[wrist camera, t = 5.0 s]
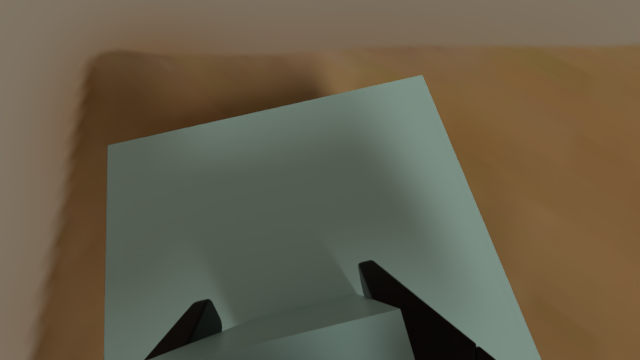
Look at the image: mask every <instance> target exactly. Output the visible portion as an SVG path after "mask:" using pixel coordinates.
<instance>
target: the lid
mask: <svg viewBox="0 0 640 360" xmlns="http://www.w3.org/2000/svg"><path fill="white" fill-rule="evenodd" d="M368 260H373V261H375V262H376V263H377V264H378V265H380V266H381V267H382V268H383V269H385V270H386V271H387V272H388V273H389V274H391V275H392V276H393V277H394V278H396V279H397V280H398V281H399V282H401V283H402V284H403V285H404V286H406V287H407V288H408V289H409V290H410V291H412V292H413V293H414V294H415V295H417V296H418V297H419V298H420V299H422V300H423V301H424V302H425V303H427V304H428V305H429V306H430V307H431V308H433V309H434V310H435V311H436V312H438V313H439V314H440V315H441V316H443V317H444V318H445V319H446V320H448V321H449V322H450V323H451V324H452V325H454V326H455V327H456V328H457V329H459V330H460V331H461V332H462V333H464V334H465V335H466V336H467V337H469V338H470V339H471V340H472V341H473V342H475V343H476V348H477V346H480V347H481V348H482V349H484V350H485V351H486V352H487V353H488V354H490V355H491V356H492V357H493V358H495V359H496V360H541V358H540V356H539V353H538V351H537V349H536V346H535V344H534V341H533V339H532V337H531V334H530V332H529V329H528V327H527V325H526V322H525V320H524V317H523V315H522V313H521V310H520V308H519V305H518V303H517V301H516V298H515V296H514V293H513V291H512V289H511V286H510V284H509V281H508V279H507V277H506V274H505V272H504V269H503V267H502V265H501V262H500V260H499V257H498V255H497V253H496V250H495V248H494V245H493V243H492V241H491V238H490V236H489V234H488V231H487V229H486V226H485V224H484V222H483V219H482V217H481V214H480V212H479V210H478V207H477V205H476V202H475V200H474V198H473V195H472V193H471V190H470V188H469V186H468V183H467V181H466V178H465V176H464V174H463V171H462V169H461V166H460V164H459V162H458V159H457V157H456V154H455V152H454V150H453V147H452V145H451V142H450V140H449V138H448V135H447V133H446V130H445V128H444V126H443V123H442V121H441V119H440V116H439V114H438V111H437V109H436V107H435V104H434V102H433V99H432V97H431V95H430V92H429V90H428V87H427V85H426V83H425V80H424V78H423V75H420V76H416V77H411V78H407V79H402V80H398V81H393V82H389V83H384V84H380V85H375V86H371V87H366V88H362V89H357V90H353V91H348V92H344V93H340V94H335V95H331V96H326V97H322V98H317V99H313V100H308V101H304V102H299V103H295V104H290V105H286V106H281V107H277V108H272V109H268V110H264V111H259V112H255V113H250V114H246V115H241V116H237V117H232V118H228V119H223V120H219V121H214V122H210V123H205V124H201V125H196V126H192V127H187V128H183V129H179V130H174V131H170V132H165V133H161V134H156V135H152V136H147V137H143V138H138V139H134V140H129V141H125V142H120V143H116V144H111V145H108V155H107V212H106V269H105V326H104V360H144V359H145V358H146V357H147V356H148V355H149V353H150V352H151V351H152V350H153V349H154V348H155V346H156V345H157V344H158V343H159V342H160V341H161V340H162V338H163V337H164V336H165V335H166V334H167V333H168V331H169V330H170V329H171V328H172V327H173V326H174V324H175V323H176V322H177V321H178V320H179V319H180V318H181V316H182V315H183V314H184V313H185V312H186V311H187V309H188V308H189V307H190V306H191V305H192V304H193V303H194V302H196V301H200V300H204V299H210V300H211V301H212V302H213V304H214V306H215V308H216V310H217V312H218V315H219V317H220V319H221V322H222V332H219V333H216V334H214V335H211V336H209V337H206V338H204V339H201V340H198V341H196V342H193V343H191V344H188V345H185V346H183V347H180V348H177V349H175V350H172V351H170V352H167V353H165V354H162V355H159V356H157V357H154V358H152V359H149V360H415V358H414V355H413V351H412V348H411V344H410V341H409V338H408V334H407V331H406V327H405V324H404V321H403V317H402V314H401V310H400V309H399V308H396V307H393V306H390V305H387V304H384V303H382V302H379V301H376V300H373V299H369V298H366V297H364V294H363V290H362V286H361V280H360V275H359V269H358V264H359V263H360V262H364V261H368Z"/></svg>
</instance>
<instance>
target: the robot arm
mask: <svg viewBox="0 0 640 360" xmlns="http://www.w3.org/2000/svg"><path fill="white" fill-rule="evenodd" d="M358 269H359V275H360V280H361V286H362V290H363V294H364V297H366V298H369V299H373V300H376V301H379V302H382V303H384V304H387V305H390V306H393V307H396V308H399V309H400V310H401V314H402V317H403V321H404V324H405V327H406V331H407V334H408V338H409V341H410V344H411V348H412V351H413V355H414V358H415V360H496V359H495V358H493V357H492V356H491V355H490V354H488V353H487V352H486V351H485V350H484V349H482V348H481V347H480V346H477V348H476V343H475V342H473V341H472V340H471V339H470V338H469V337H467V336H466V335H465V334H464V333H462V332H461V331H460V330H459V329H457V328H456V327H455V326H454V325H452V324H451V323H450V322H449V321H448V320H446V319H445V318H444V317H443V316H441V315H440V314H439V313H438V312H436V311H435V310H434V309H433V308H431V307H430V306H429V305H428V304H427V303H425V302H424V301H423V300H422V299H420V298H419V297H418V296H417V295H415V294H414V293H413V292H412V291H410V290H409V289H408V288H407V287H406V286H404V285H403V284H402V283H401V282H399V281H398V280H397V279H396V278H394V277H393V276H392V275H391V274H389V273H388V272H387V271H386V270H385V269H383V268H382V267H381V266H380V265H378V264H377V263H376V262H375V261H373V260H368V261H364V262H360V263H359V264H358ZM219 332H222V322H221V319H220V317H219V315H218V312H217V310H216V308H215V306H214V304H213V302H212V301H211V300H210V299H204V300H200V301H196V302H194V303H193V304H192V305H191V306H190V307H189V308H188V309H187V311H186V312H185V313H184V314H183V315H182V316H181V318H180V319H179V320H178V321H177V322H176V323H175V324H174V326H173V327H172V328H171V329H170V330H169V331H168V333H167V334H166V335H165V336H164V337H163V338H162V340H161V341H160V342H159V343H158V344H157V345H156V346H155V348H154V349H153V350H152V351H151V352H150V353H149V355H148V356H147V357H146V358H145V359H144V360H149V359H152V358H154V357H157V356H159V355H162V354H165V353H167V352H170V351H172V350H175V349H177V348H180V347H183V346H185V345H188V344H191V343H193V342H196V341H198V340H201V339H204V338H206V337H209V336H211V335H214V334H216V333H219Z"/></svg>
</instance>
